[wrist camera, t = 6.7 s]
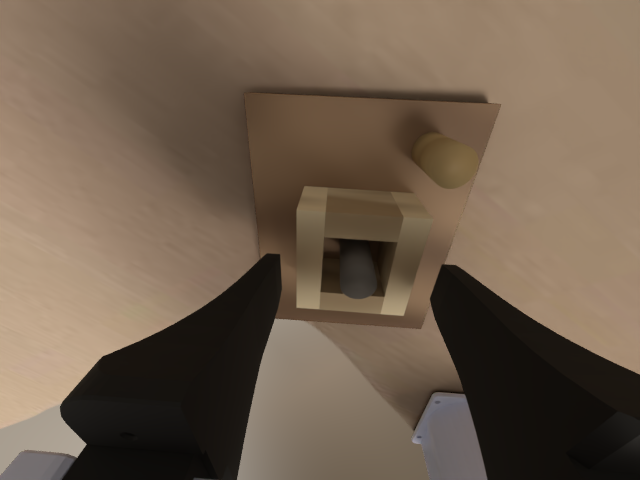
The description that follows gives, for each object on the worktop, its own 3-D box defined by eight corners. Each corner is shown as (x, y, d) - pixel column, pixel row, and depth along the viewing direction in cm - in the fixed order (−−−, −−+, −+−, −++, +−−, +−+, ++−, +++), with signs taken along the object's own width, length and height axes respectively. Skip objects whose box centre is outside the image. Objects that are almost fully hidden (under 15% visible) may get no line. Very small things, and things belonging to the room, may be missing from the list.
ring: (392, 278, 16) (403, 315, 13) (303, 272, 16) (296, 307, 13) (414, 193, 13) (433, 219, 10) (304, 186, 13) (296, 209, 10)
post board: (417, 317, 19) (440, 385, 14) (269, 307, 19) (250, 370, 15) (489, 103, 12) (578, 112, 7) (250, 92, 12) (201, 94, 8)
